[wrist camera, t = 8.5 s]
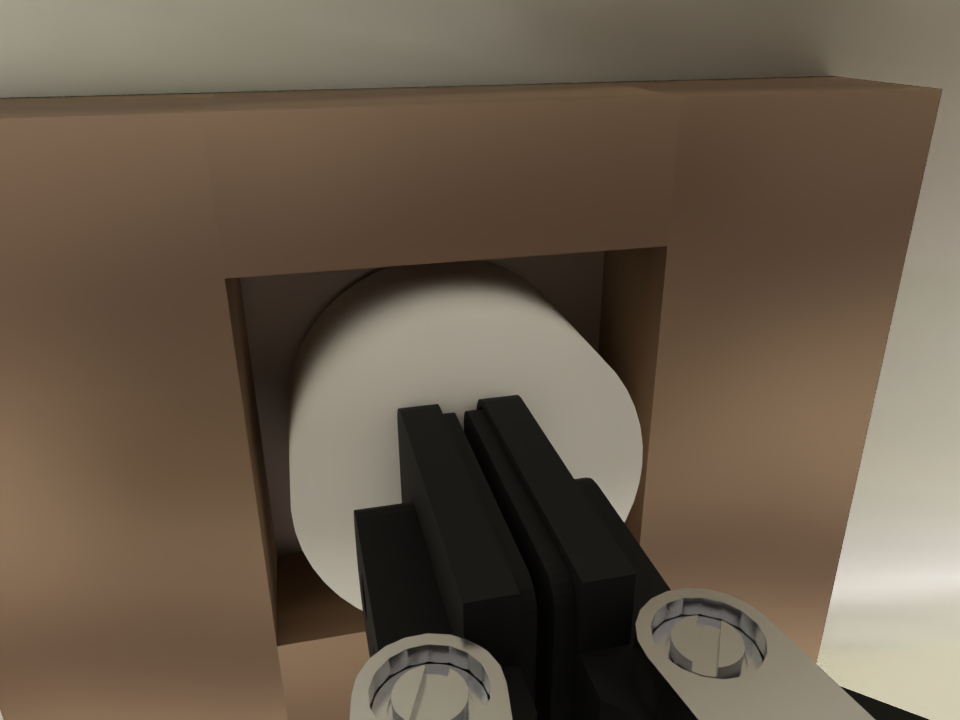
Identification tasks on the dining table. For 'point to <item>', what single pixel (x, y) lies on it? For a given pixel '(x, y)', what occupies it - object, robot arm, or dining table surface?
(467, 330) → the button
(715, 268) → the button board
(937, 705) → the dining table surface
